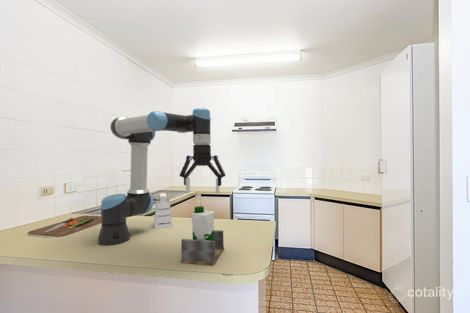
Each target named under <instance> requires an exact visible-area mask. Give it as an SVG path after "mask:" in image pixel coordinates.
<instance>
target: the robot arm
mask: <svg viewBox="0 0 470 313" xmlns="http://www.w3.org/2000/svg"><path fill="white" fill-rule="evenodd" d="M211 120H212V119H211V112H210V109H208V108H204V107H198V108H194V109H192V114H190V115H188V114H187V115H183V114H178V113H177V114H176V113H169V112H163V111H158V110H157V111H155V110H153V111H150V113H148V114H145V115H139V116H133V117H126V116H121V117H120V116H119V117H116V118H114V119H113V120H112V121H111V123H110V131H111V133H112V134H113V136H114V137H116V138H118V139H121V140H127V141H128V144H129V145H130V146H131V147H130V148H131V149H130V183H129V184H130V187H129V189H128V190H127V192H126V194H127V195H126V194H125V193H118V194H116V193H115V194H110V195H107V196H105V197H104V198H102V200H101V203H100V210H101V211H100V212H101V214H100V216H101V220H102V223H101V228H100V231H99V234H98V237H97V244H99V245H102V246H111V245H117V244H121V243H125V242H128V241H129V240H130V239H131V232H130V230H129V228H128V225H127V218H131V217H135V216H141V215H145V214H147V213H149V212H150V211H151V210H152V208H153V207H154V197H153V194H152V193H151V192H150V190H149V189H148V188H147V187H148V186H147V185H148V182H147V180H148V149H149V148H148V147H149V146H150V145H151V141H153V140H154V139H155V137H156V132H161V131H164V132H177V133H180V134H186V133H191V132H192V134H193V135H192V138H193V139H192V141H193V142H192V143H193V146H192V148H193V153H192V154H193V155H186V157H185V162H184V164H183V167H182V169H181V171H180V172H179V177H180V178H181V177H182V178H183V186H185V194H189V193H191V178H190V177H189V176H191V173H193V171H194V170H195V169H196V167H197V166H198V167H206V166H207V167H208V168H209V169H210V171H212V173H213V174H214V175H215V177H216V178H215V194H216V195H218V194H220V186H222V178H225V177H226V172H225V170H224V168H223V166H222V165H221V163H220V161H219V156H218V155H212V154H211V153H212V152H211V151H212V149H211V148H212V147H211V146H212V145H210V144H211V143H212V142H211V137H212V136H211ZM192 160H193V163H192V164H191V161H192ZM211 160H212V161H214V163H215V165H216V168H217V169H216V168H215V166H214V165H213V163H212V162H211ZM190 164H191V166H190ZM189 166H190V167H189ZM188 168H189V169H188Z"/></svg>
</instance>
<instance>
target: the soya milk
mask: <svg viewBox="0 0 470 313" xmlns="http://www.w3.org/2000/svg"><path fill="white" fill-rule="evenodd" d="M215 216H216V212H215V211H212V210H207V209H206V210H205V209H204V206H202V205H198V206H194V211H193V212H191V213H190V217H191V222H192V225H191V226H192V240H209V241H214V230H215V227H214V224H215V222H214V221H215Z"/></svg>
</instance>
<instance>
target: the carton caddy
mask: <svg viewBox="0 0 470 313" xmlns="http://www.w3.org/2000/svg"><path fill="white" fill-rule="evenodd" d="M180 242H181V245H180V246H181V260H180V264H191V265H200V266H201V265H203V266H212V265H213V266H215V264H216V263H217V262H218V260H219V258H220V256H222V253H224V252H223V251H224V250H225V247H224V244H225V243H224V230H219V229H217V230H215V229H214V241H209V240H193V238H192V239H189V238H182V239H181V241H180ZM213 266H212V267H213Z"/></svg>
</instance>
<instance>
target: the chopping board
mask: <svg viewBox="0 0 470 313" xmlns="http://www.w3.org/2000/svg"><path fill="white" fill-rule="evenodd" d="M100 224H102V220H101V215H80V216H77V217H74V218H73V217H70V218H69V219H67V220H64V221H60V222H58V223H54V224H49V225H47V226H42V227H39V228H35V229H32V230H30V231H28V232H27V237H34V238H45V239H46V238H47V239H51V238H52V237H56V238H60V237H66V236H69V235H71V234H75V233H77V232H80V231H83V230H86V229H89V228H92V227H94V226H95V227H96V226H97V225H100Z"/></svg>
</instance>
